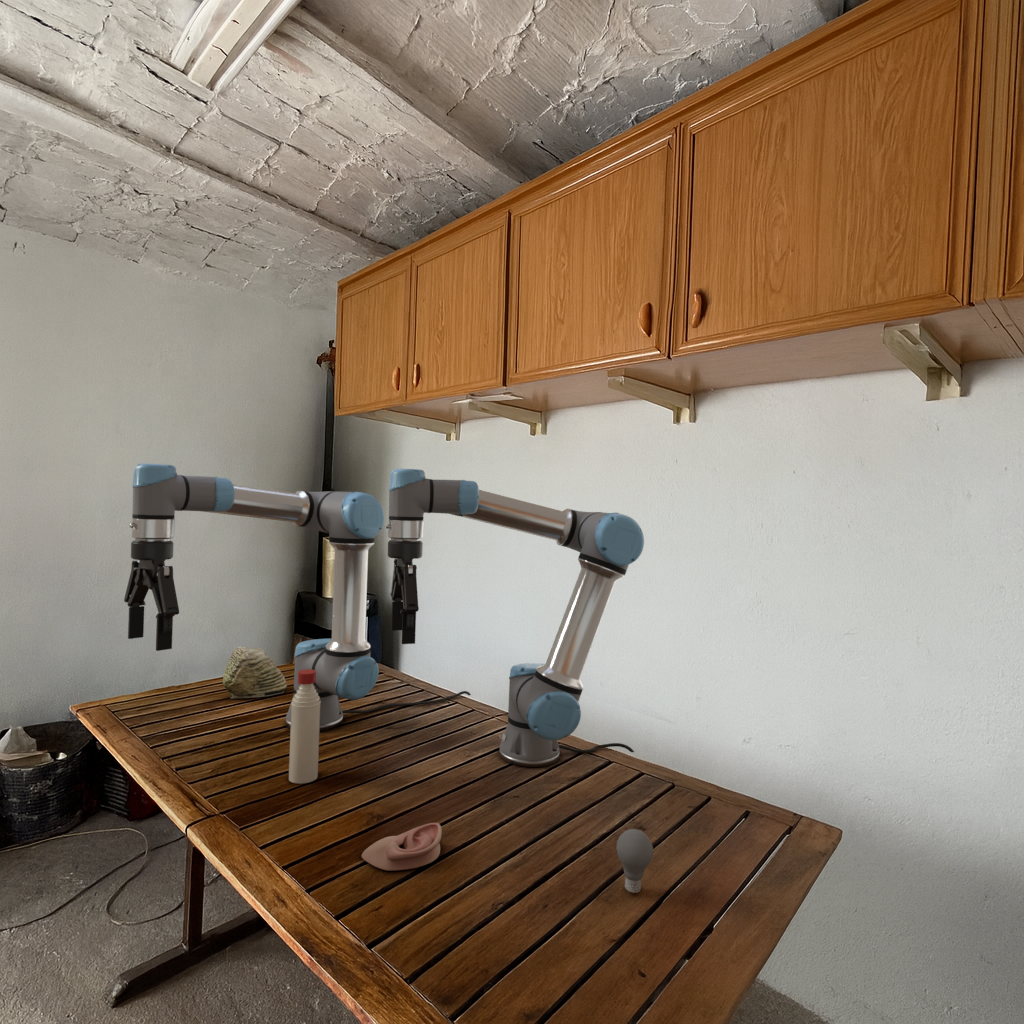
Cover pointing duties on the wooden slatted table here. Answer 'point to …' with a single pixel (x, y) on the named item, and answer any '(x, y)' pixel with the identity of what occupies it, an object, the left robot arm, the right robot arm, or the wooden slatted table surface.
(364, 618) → the left robot arm
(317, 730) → the bottle
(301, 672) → the cap
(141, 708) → the wooden slatted table surface
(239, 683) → the fossil
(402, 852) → the anatomical model
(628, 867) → the light bulb
